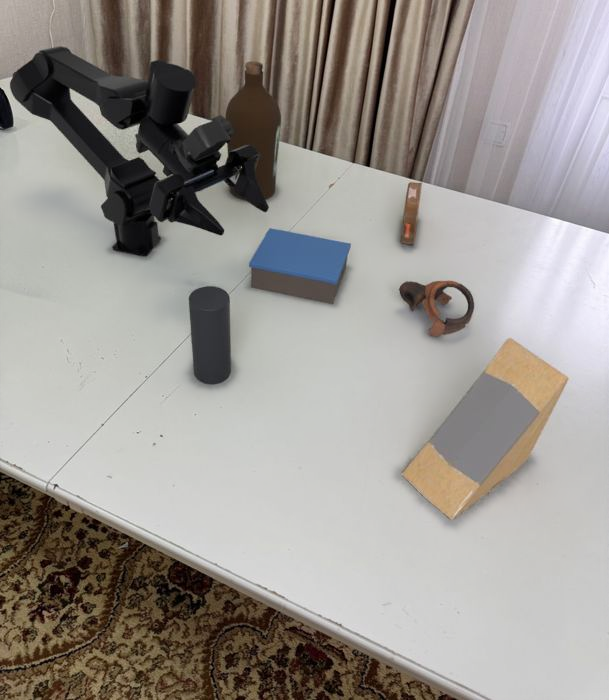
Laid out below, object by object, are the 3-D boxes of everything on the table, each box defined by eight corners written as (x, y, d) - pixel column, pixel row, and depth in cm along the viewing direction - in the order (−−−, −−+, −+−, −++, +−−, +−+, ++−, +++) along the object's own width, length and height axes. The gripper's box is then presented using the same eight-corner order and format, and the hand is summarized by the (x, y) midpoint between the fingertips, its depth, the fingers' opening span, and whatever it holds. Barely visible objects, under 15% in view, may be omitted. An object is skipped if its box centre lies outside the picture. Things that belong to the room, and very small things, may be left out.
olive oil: (230, 204, 124) (228, 73, 107) (223, 179, 131) (221, 54, 115) (282, 201, 126) (288, 73, 109) (273, 177, 134) (277, 54, 117)
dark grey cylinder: (188, 379, 86) (182, 305, 78) (201, 355, 90) (197, 282, 81) (223, 387, 86) (221, 314, 77) (235, 363, 89) (235, 290, 81)
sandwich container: (398, 473, 77) (422, 387, 67) (477, 419, 84) (508, 335, 74) (451, 522, 72) (485, 437, 62) (529, 460, 80) (570, 376, 70)
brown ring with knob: (462, 305, 104) (485, 285, 97) (449, 355, 101) (471, 338, 93) (397, 278, 104) (414, 256, 96) (381, 327, 100) (398, 309, 92)
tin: (412, 253, 115) (421, 212, 109) (395, 250, 115) (403, 209, 109) (418, 214, 126) (426, 175, 120) (402, 212, 126) (410, 173, 121)
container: (248, 288, 103) (249, 262, 100) (268, 252, 112) (269, 227, 108) (334, 305, 101) (337, 280, 98) (347, 267, 110) (351, 243, 106)
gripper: (131, 121, 79) (213, 204, 77) (234, 87, 90) (307, 160, 88) (119, 183, 88) (192, 260, 86) (214, 146, 99) (281, 213, 97)
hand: (245, 221), depth 89 cm, fingers open, 9 cm apart
